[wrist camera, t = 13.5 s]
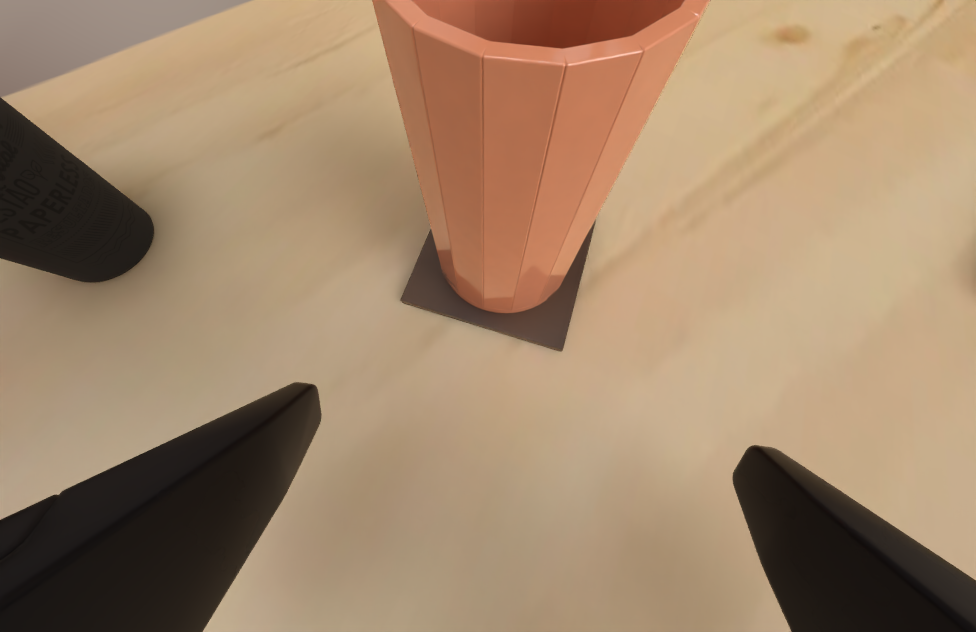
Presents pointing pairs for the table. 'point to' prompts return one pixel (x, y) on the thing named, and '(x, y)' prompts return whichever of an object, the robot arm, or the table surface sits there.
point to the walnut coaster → (530, 325)
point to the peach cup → (525, 124)
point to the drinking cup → (63, 209)
